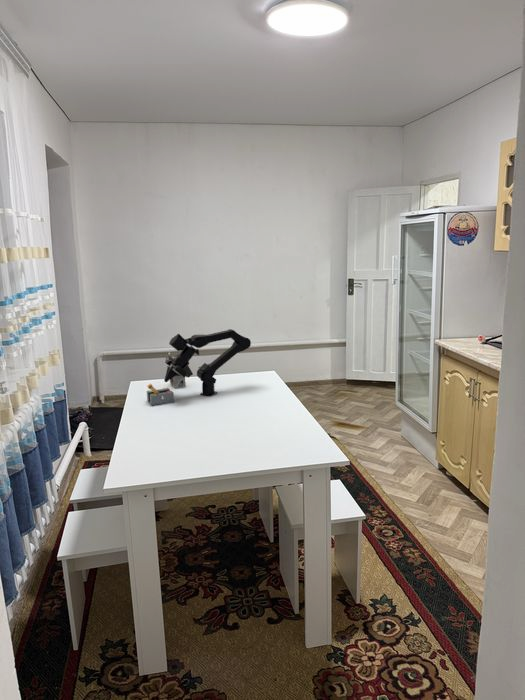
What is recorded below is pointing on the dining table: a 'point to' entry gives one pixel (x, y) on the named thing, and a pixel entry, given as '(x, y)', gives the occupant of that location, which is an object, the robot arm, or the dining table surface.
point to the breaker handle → (152, 388)
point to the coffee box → (177, 377)
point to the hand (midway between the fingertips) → (165, 381)
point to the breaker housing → (160, 397)
